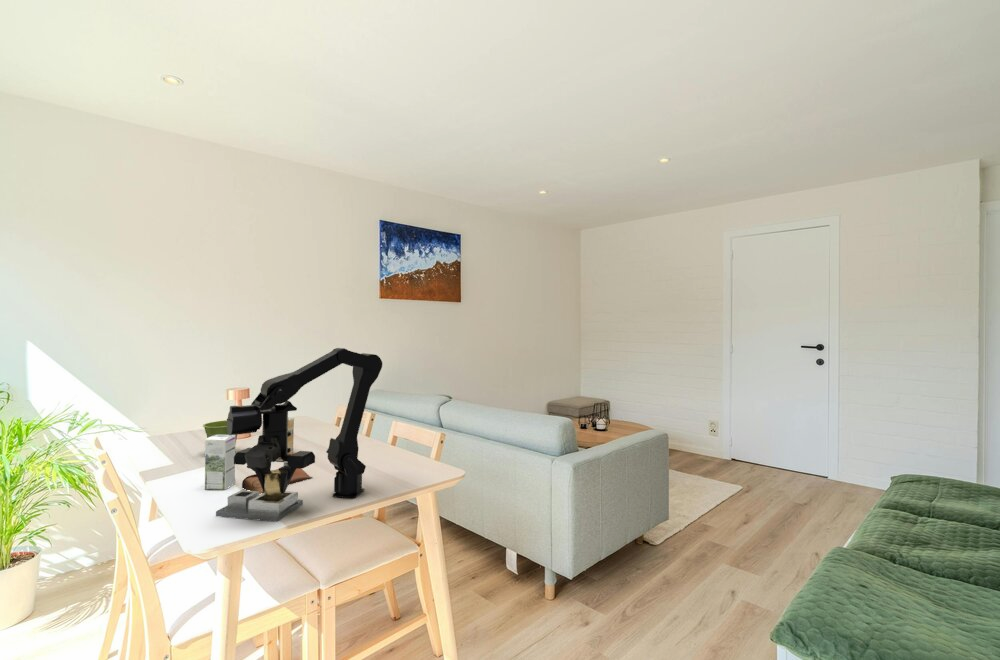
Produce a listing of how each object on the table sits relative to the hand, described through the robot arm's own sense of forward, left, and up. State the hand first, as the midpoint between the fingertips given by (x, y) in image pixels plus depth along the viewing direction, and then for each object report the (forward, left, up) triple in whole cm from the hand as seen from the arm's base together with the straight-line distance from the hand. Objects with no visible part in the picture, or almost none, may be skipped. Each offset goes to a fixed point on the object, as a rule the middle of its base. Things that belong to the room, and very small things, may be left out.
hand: (274, 492), depth 117 cm
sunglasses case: (+11, -19, -6) cm, 23 cm away
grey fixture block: (+4, 0, -5) cm, 6 cm away
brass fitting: (0, 0, -2) cm, 2 cm away
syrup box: (+26, -13, -5) cm, 29 cm away
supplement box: (+28, -45, -5) cm, 53 cm away
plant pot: (+49, -42, -5) cm, 64 cm away
